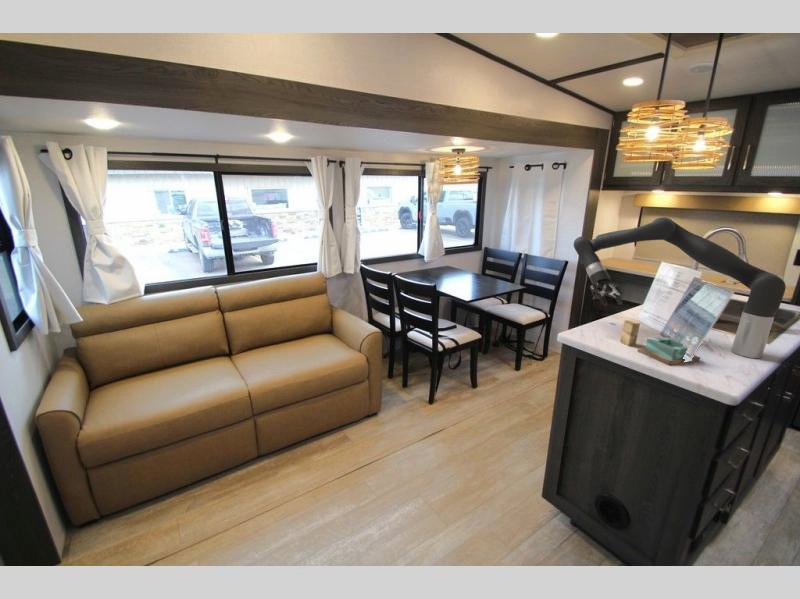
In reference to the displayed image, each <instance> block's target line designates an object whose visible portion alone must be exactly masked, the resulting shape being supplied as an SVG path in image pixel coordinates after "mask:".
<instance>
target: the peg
mask: <svg viewBox="0 0 800 599" xmlns="http://www.w3.org/2000/svg"><path fill="white" fill-rule="evenodd" d="M640 325H641V322H638V321H636V320H633V319H629V320H624V321H623V327H622V332H621V337H620V341H619V343H620V342H621V343H620V344H623V345H626V346H627V347H630V346H631V347H632V346H636V344H637V338H638V335H639V330H640Z"/></svg>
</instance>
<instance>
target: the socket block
mask: <svg viewBox="0 0 800 599" xmlns="http://www.w3.org/2000/svg"><path fill="white" fill-rule="evenodd" d="M680 342H681V341H680ZM680 342H679V340H677V339H675V338H671V337H669V336H666V337H664V336H663V337H655V338H648V339H646V343H645V346H644V347H638V349H637V352H638V353H641V354H643V355H644V356H647V357H649V358H651V359H654V360H655V361H658V362H660V363H662V364H664V365H667V366H672V365H680V363H681V364H684V363H683V362H684V361H685V359H683V357H684V355H685V353H686V351H687V349H688V348H687V347H686V346H683V344H682V343H683V342H682V343H680ZM693 355H694V357H693V358H692V361H695V362H700V359H701V357H700V356H698V355H695V354H693Z"/></svg>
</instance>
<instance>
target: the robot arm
mask: <svg viewBox="0 0 800 599" xmlns="http://www.w3.org/2000/svg"><path fill="white" fill-rule="evenodd" d="M648 241H665V242H667V243H669V244H671V245H673V246H675V247H677V248H678V249H679V250H681V251H682V252H683V253H685V254H686V255H688V257H690V258H691V259H692V260H694V261H695V262H697V263H699V264H700V265H702V266H704V267H706V268H708V269H710V270H712V271H714V272H716V273H719V274H722V275H725V276H727V277H729V278H732V279H733V280H735V281H737V282H739V283H740V284H742V285H743V286H745V287H746V288H747V289H748V290H750V293H749V296H748V298H747V301H746V303H745V304H744V306H743V310H742V311H741V312H742V313H741V316H740V320H739V322H738V323H739V324H738V326H737V330H736V333H735V337H734V339H733V343H732V346H731V349H730V350H731V352H732V353H734V354H736V355H739V356H742V357H746V358H751V359H761V358H762V357H763V354H764V351H765V348H766V345H767V342H768V339H769V337H770V336H769V335H770V332H771V328H772V326H773V322H774V319H775V316H776V313H777V312H778V311H779V309H780V306H781V304H782V300H783V298H784V295H785V291H786V288H787V286H786V282H785V281H784V280H783V278H781V277H780V276H778V275H776V274H775V273H771V272H769V271H766V270H764V269H761V268H759V267H756V266H754V265H752V264H750V263H748V262H747V261H745V260H743V259H742V258H741V257H739V256H738V255H736V254H735V253H734V252H732V251H730V250H728V249H727V248H725V247H724V246H721V245H719V244H718V243H716V242H714V241H711V240H709V239H707V238H705V237H702V236H700V235H697V234H695V233H693V232H691V231H689V230H687V229H685V228H684V227H683V226H681V225H679V224H677V222H675V221H674V220H672V219H671V218H669V217H658V218H655V219H654V220H653V221H651V222H649V223H647V224H644V225H641V226H637V227H634V228H633V227H632V228H628V229H622V230H621V229H620V230H613V231H610V232H606V233H601V234H598V235H597V236H595V238H593V239H589V238H588V237H586V236H578V237H577V238H575V240H574V241H573V248H574V250H575V251H576V253H577V255H578V256H579V258H580V259H581V262H582V264H583V266H584V268H585V271H586V273H587V276H588V277H589V279H590V282H591V285H590V286H589V289H590V291H591V294H592V296H593V298H594V299H598V300H599V301H600V304H601V305H602V306H603V307H604V306H605V307H606V306H607V305H608V301H607V299H606V297H605V294H608V295H610V296H612V297H614V299H615V301H616V304H617V305H620V306H621V305H622V304H623V303H624V301H623V299H622V297H621V295H623V291H622V289H621V287H620V285H619V284H618V282H615V283H612V282H611V276H610V275H609V274H608V272H607V269H606V268H605V266H604V264H602V262H601V259H600V257H599V256H598V254H597V253H596V252H599V251H600V250H605V249H610V248H616V247H619V246H622V245H627V244H632V243H639V242H648Z"/></svg>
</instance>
